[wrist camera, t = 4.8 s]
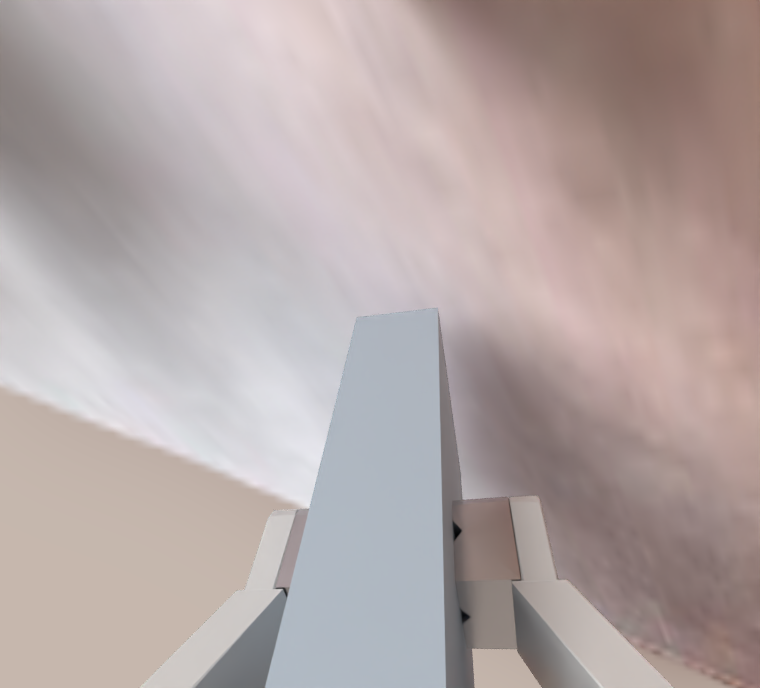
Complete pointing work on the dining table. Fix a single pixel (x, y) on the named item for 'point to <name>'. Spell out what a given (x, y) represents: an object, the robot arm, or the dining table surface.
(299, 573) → the domino
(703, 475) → the dining table surface
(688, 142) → the dining table surface
